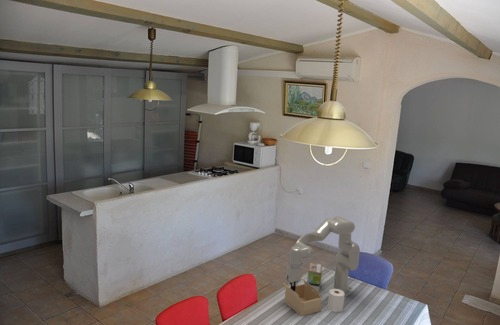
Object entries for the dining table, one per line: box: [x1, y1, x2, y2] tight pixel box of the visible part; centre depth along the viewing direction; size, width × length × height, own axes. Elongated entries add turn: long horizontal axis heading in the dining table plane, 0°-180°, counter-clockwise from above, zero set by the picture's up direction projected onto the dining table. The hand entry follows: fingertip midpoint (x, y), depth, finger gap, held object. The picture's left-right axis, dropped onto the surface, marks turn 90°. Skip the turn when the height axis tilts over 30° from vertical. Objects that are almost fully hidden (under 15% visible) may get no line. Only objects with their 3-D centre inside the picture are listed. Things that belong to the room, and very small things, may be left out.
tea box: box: [306, 262, 323, 291], centre depth 304 cm, size 15×10×15 cm
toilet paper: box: [327, 287, 345, 313], centre depth 274 cm, size 10×10×12 cm
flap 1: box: [282, 282, 301, 302], centre depth 268 cm, size 6×18×1 cm
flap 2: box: [301, 278, 322, 297], centre depth 276 cm, size 6×18×1 cm
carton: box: [284, 283, 323, 317], centre depth 274 cm, size 16×21×10 cm
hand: (292, 290), depth 268 cm, fingers closed
